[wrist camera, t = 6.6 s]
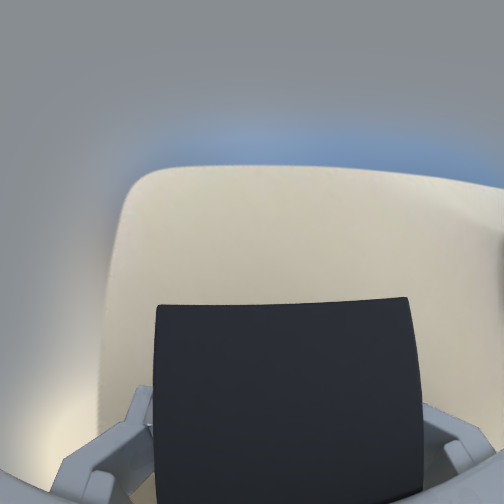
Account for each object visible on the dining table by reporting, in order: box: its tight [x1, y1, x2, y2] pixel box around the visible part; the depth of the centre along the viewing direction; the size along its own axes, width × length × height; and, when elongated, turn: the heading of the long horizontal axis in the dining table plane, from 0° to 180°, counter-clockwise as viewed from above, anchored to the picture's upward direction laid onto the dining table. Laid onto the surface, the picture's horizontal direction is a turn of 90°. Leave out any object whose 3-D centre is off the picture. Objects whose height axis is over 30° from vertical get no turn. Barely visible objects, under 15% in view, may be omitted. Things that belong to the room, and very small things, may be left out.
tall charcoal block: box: [153, 297, 424, 504], centre depth 8 cm, size 5×5×9 cm
